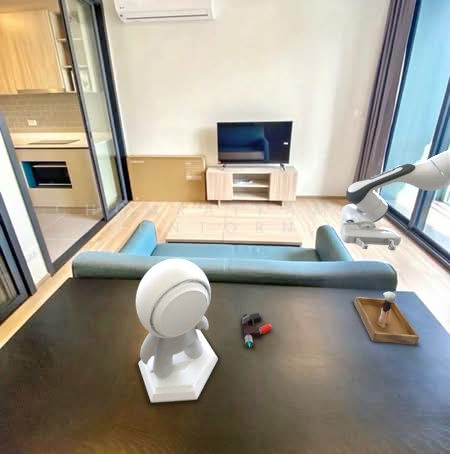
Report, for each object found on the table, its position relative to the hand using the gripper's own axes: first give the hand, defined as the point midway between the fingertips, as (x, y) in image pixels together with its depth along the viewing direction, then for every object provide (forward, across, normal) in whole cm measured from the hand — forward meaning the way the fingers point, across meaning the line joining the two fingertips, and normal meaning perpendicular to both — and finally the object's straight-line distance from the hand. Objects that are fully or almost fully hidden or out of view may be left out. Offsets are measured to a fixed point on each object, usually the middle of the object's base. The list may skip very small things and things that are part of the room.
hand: (379, 248), depth 89 cm
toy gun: (+20, +43, -22) cm, 52 cm away
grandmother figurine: (+12, 0, -22) cm, 25 cm away
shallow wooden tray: (+12, 0, -22) cm, 25 cm away
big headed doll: (+32, +66, -22) cm, 76 cm away
